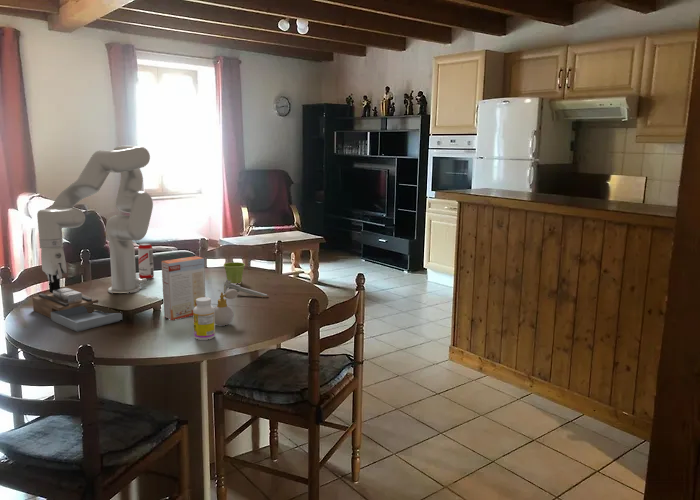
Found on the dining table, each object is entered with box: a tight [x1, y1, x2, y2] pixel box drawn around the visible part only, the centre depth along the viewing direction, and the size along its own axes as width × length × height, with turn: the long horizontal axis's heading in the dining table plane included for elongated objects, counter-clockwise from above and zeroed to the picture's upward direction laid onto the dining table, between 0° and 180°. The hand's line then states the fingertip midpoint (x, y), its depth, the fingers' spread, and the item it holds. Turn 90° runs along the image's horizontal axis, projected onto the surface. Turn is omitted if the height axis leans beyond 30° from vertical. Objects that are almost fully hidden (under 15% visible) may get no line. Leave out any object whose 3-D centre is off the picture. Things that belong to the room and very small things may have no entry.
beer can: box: [137, 242, 155, 281], centre depth 253 cm, size 6×6×16 cm
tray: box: [50, 306, 123, 333], centre depth 194 cm, size 16×18×3 cm
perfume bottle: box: [214, 288, 239, 327], centre depth 193 cm, size 8×10×12 cm
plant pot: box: [223, 261, 246, 284], centre depth 249 cm, size 9×9×9 cm
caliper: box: [223, 279, 268, 296], centre depth 230 cm, size 20×1×6 cm, turn 75°
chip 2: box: [61, 290, 83, 304], centre depth 199 cm, size 5×5×3 cm
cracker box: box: [161, 255, 207, 321], centre depth 200 cm, size 14×6×21 cm, turn 135°
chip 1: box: [52, 287, 75, 301], centre depth 202 cm, size 5×5×3 cm
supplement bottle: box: [192, 296, 216, 341], centre depth 179 cm, size 7×7×13 cm
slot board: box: [31, 293, 99, 319], centre depth 202 cm, size 14×20×6 cm
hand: (55, 291), depth 206 cm, fingers closed
